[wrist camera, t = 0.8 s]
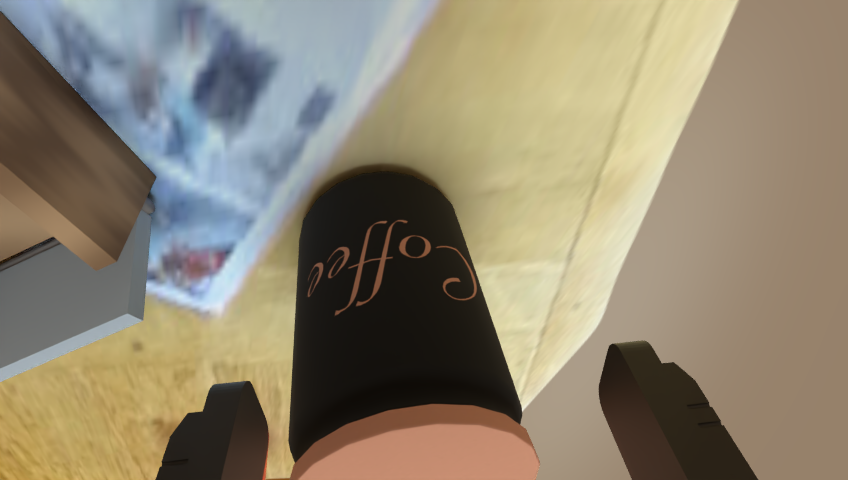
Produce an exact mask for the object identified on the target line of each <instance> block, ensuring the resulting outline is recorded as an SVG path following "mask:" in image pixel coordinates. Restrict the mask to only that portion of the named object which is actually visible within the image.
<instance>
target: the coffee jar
mask: <svg viewBox="0 0 848 480" xmlns="http://www.w3.org/2000/svg"><path fill="white" fill-rule="evenodd" d="M521 418H522V407H521V404H520V401H519V398H518V395H517V392H516V389H515V386H514V383H513V380H512V377H511V374H510V372H509V369H508V366H507V363H506V360H505V357H504V354H503V351H502V348H501V345H500V342H499V339H498V336H497V333H496V330H495V327H494V324H493V322H492V319H491V316H490V313H489V310H488V307H487V304H486V301H485V298H484V295H483V292H482V289H481V286H480V283H479V280H478V277H477V274H476V271H475V269H474V266H473V263H472V260H471V257H470V254H469V251H468V248H467V245H466V242H465V239H464V236H463V233H462V230H461V227H460V224H459V222H458V219H457V216H456V214H455V211H454V208H453V206H452V204H451V203H450V202H449V201H448V200H447V199H446V198H445V197H444V196H443V195H442V193H441V192H440V191H439V190H438V189H437V188H435V187H433V186H431V185H429V184H428V183H426V182H424V181H422V180H420V179H418V178H416V177H414V176H410V175H404V174H399V173H393V172H376V173H366V174H361V175H358V176H356V177H353V178H351V179H348V180H345V181H343V182H340V183H338V184H336V185H335V186H334V187H332V188H331V189H330V190H328V191H327V192H326V193H325V194H323V195H322V196H321V197H319V198H318V199H317V200H316V202H315V203H314V205H313V206H312V208H311V209H310V211H309V212H308V214H307V215H306V217H305V218H304V220H303V225H302V230H301V235H300V240H299V258H298V276H297V294H296V313H295V331H294V349H293V368H292V386H291V405H290V423H289V446H290V451H291V453H292V456H293V459H294V462H295V464H294V466H293V470H292V473H291V477H290V480H536V476H537V473H538V469H539V466H540V461H539V459H538V456H537V454H536V451H535V449H534V446H533V444H532V442H531V439H530V437H529V435H528V433H527V430H526V429H525V428H524V427H522V426H521V425H520V423H521Z"/></svg>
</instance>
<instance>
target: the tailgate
mask: <svg viewBox="0 0 848 480" xmlns="http://www.w3.org/2000/svg"><path fill="white" fill-rule="evenodd" d="M154 211H155V206H154V203H153V202H152V200H151V199H149V198H148V197H147V198H146V200H145V203H144V205H143V207H142V209H141V211H140V213H139V215H138V218H137V220H136V222H135V224H134V226H133V228H132V230H131V233H130V235H129V237H128V239H127V241H126V243H125V245H124V248H123V250H122V252H121V254H120V256H119V258H118V261H117V262H115V263H113V264H111V265H109V266H106V267H104V268H102V269H100V270H97V271H95V270H94V269H93V268H92V267H90V266H89V265H88V264H87V263H85V262H84V261H83V260H82V259H80V258H79V257H78V256H77V255H75V254H74V253H73V252H72V251H70V250H69V249H68V248H67V247H66V246H64V245H63V244H62V243H61V242H59V241H58V240H57V239H56V238H55V239H53V240H51V241H48V242H46V243H44V244H42V245H40V246H38V247H36V248H33V249H31V250H29V251H27V252H25V253H23V254H21V255H19V256H16V257H14V258H12V259H10V260H8V261H6V262H4V263H1V264H0V382H1V381H4V380H6V379H8V378H11V377H13V376H15V375H18V374H20V373H22V372H25V371H27V370H29V369H32V368H34V367H36V366H39V365H41V364H43V363H46V362H48V361H50V360H53V359H55V358H57V357H60V356H62V355H64V354H67V353H69V352H71V351H74V350H76V349H78V348H81V347H83V346H85V345H88V344H90V343H92V342H95V341H97V340H99V339H102V338H104V337H106V336H109V335H111V334H113V333H116V332H118V331H120V330H123V329H125V328H127V327H130V326H132V325H134V324H137V323H139V322H141V321H143V316H144V304H145V292H146V280H147V267H148V255H149V243H150V231H151V219H152V217H151V216H150V215H148V214H150V213H152V212H154Z"/></svg>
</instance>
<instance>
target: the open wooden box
mask: <svg viewBox="0 0 848 480" xmlns="http://www.w3.org/2000/svg"><path fill="white" fill-rule="evenodd" d="M155 179H156V176H155V175H154V174H153V173H152V172H151V171H150V170H149V169H148V168H147V167H146V166H145V164H144V163H143V162H142V161H141V160H140V159H139V158H138V157H137V156H136V155H135V154H134V153H133V152H132V151H131V150H130V149H129V147H128V146H127V145H126V144H125V143H124V142H123V141H122V140H121V139H120V138H119V137H118V136H117V135H116V134H115V133H114V132H113V131H112V129H111V128H110V127H109V126H108V125H107V124H106V123H105V122H104V121H103V120H102V119H101V118H100V117H99V116H98V115H97V114H96V112H95V111H94V110H93V109H92V108H91V107H90V106H89V105H88V104H87V103H86V102H85V101H84V100H83V99H82V98H81V97H80V95H79V94H78V93H77V92H76V91H75V90H74V89H73V88H72V87H71V86H70V85H69V84H68V83H67V82H66V81H65V80H64V79H63V77H62V76H61V75H60V74H59V73H58V72H57V71H56V70H55V69H54V68H53V67H52V66H51V65H50V64H49V63H48V62H47V60H46V59H45V58H44V57H43V56H42V55H41V54H40V53H39V52H38V51H37V50H36V49H35V48H34V47H33V46H32V45H31V43H30V42H29V41H28V40H27V39H26V38H25V37H24V36H23V35H22V34H21V33H20V32H19V31H18V30H17V29H16V28H15V26H14V25H13V24H12V23H11V22H10V21H9V20H8V19H7V18H6V17H5V16H4V15H3V14H2V13H1V12H0V261H2V260H4V259H6V258H8V257H10V256H13V255H15V254H17V253H19V252H21V251H23V250H25V249H28V248H30V247H32V246H34V245H36V244H38V243H40V242H42V241H45V240H47V239H49V238H51V237H54V238H56V239H57V240H58V241H59V242H61V243H62V244H63V245H64V246H66V247H67V248H68V249H69V250H70V251H72V252H73V253H74V254H75V255H77V256H78V257H79V258H80V259H82V260H83V261H84V262H85V263H87V264H88V265H89V266H90V267H92V268H93V269H94V270H95V271H97V270H100V269H102V268H104V267H106V266H109V265H111V264H113V263H115V262H117V261H118V258H119V256H120V254H121V252H122V250H123V248H124V245H125V243H126V241H127V239H128V237H129V235H130V233H131V230H132V228H133V226H134V224H135V222H136V220H137V218H138V215H139V213H140V211H141V209H142V207H143V205H144V203H145V200H146V198H147V196H148V194H149V192H150V190H151V187H152V185H153V183H154V181H155Z"/></svg>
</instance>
